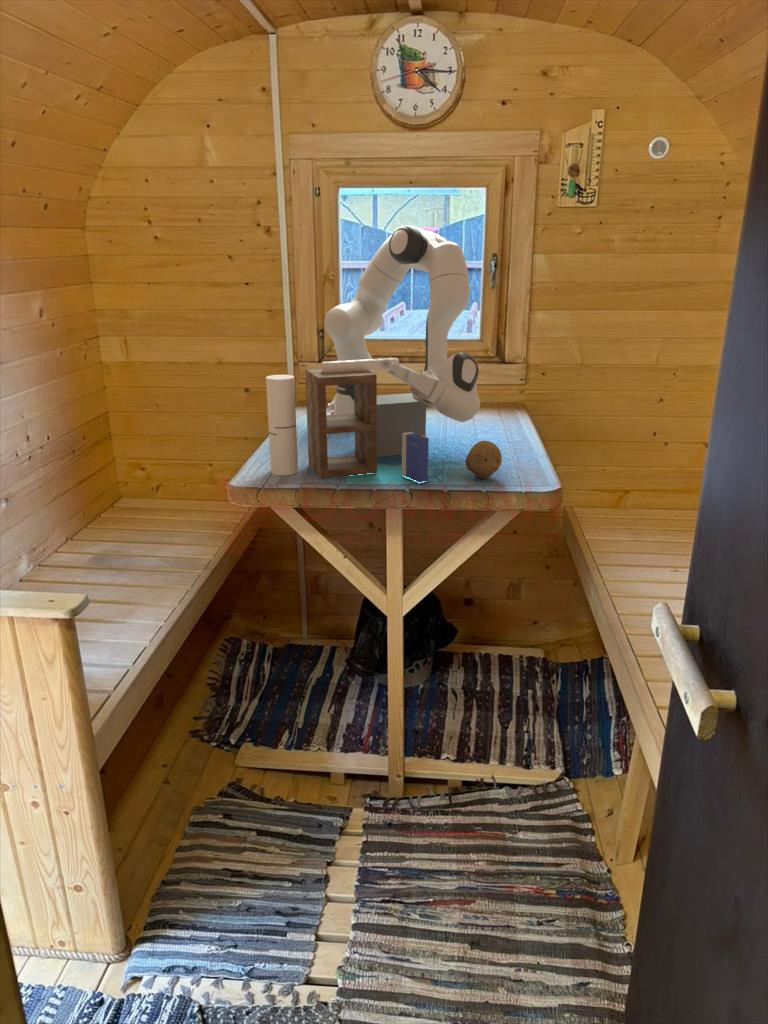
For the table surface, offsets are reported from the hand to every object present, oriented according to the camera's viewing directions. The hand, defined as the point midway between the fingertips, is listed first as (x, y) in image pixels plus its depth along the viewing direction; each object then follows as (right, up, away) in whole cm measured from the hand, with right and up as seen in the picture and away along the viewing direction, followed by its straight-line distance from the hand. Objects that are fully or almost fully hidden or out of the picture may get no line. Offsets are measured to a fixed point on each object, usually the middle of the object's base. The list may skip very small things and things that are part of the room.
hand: (384, 363), depth 198 cm
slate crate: (+2, -21, +24) cm, 32 cm away
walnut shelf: (-11, -27, +6) cm, 30 cm away
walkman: (+8, -31, -3) cm, 32 cm away
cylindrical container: (-26, -28, +4) cm, 39 cm away
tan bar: (-6, -2, -1) cm, 7 cm away
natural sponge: (+25, -30, -2) cm, 40 cm away
